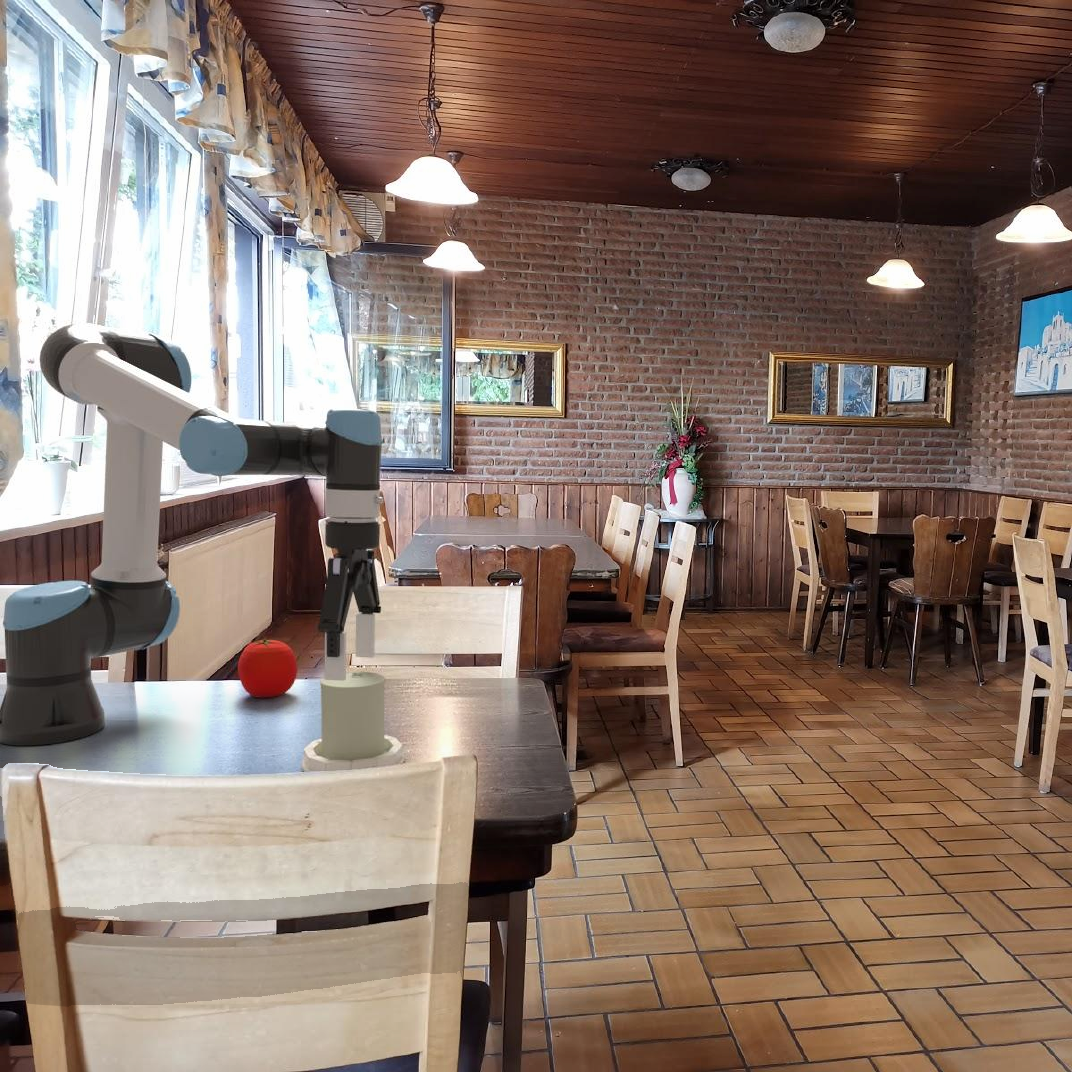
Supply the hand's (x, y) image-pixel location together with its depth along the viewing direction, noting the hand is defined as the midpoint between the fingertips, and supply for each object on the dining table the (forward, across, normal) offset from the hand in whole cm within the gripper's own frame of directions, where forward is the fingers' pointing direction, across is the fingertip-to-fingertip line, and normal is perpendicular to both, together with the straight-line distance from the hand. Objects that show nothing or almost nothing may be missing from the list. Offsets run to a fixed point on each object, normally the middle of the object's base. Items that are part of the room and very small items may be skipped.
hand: (350, 667), depth 120 cm
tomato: (+15, +33, +26) cm, 45 cm away
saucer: (+14, 0, -1) cm, 14 cm away
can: (+13, 0, -1) cm, 13 cm away
